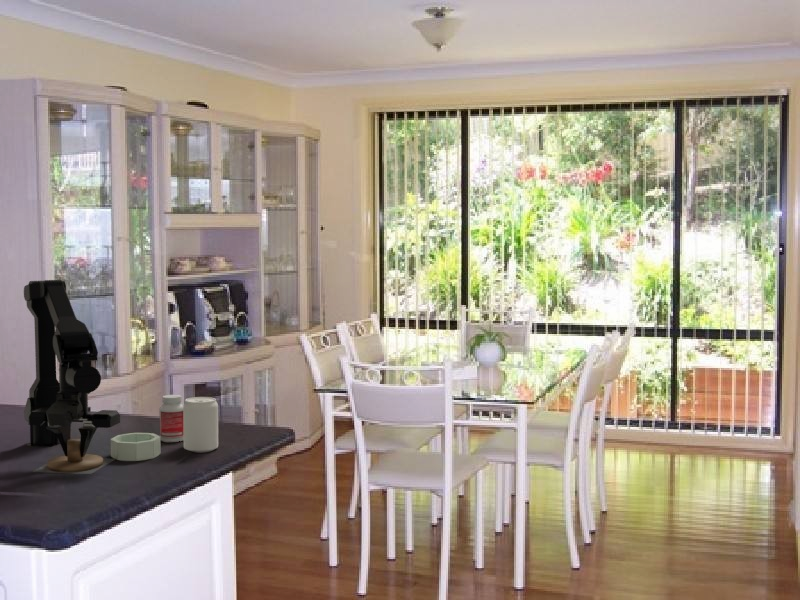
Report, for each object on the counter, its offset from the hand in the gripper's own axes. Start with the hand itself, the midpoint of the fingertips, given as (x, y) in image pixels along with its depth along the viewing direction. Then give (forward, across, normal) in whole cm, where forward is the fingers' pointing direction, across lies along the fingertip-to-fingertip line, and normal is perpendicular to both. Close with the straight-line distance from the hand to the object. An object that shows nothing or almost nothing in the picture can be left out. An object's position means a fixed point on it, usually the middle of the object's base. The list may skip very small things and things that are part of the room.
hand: (75, 456), depth 205 cm
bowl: (+2, +10, +10) cm, 14 cm away
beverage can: (+3, +22, +20) cm, 30 cm away
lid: (+2, 0, 0) cm, 2 cm away
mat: (+2, 0, 0) cm, 2 cm away
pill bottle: (+3, +12, +28) cm, 31 cm away
